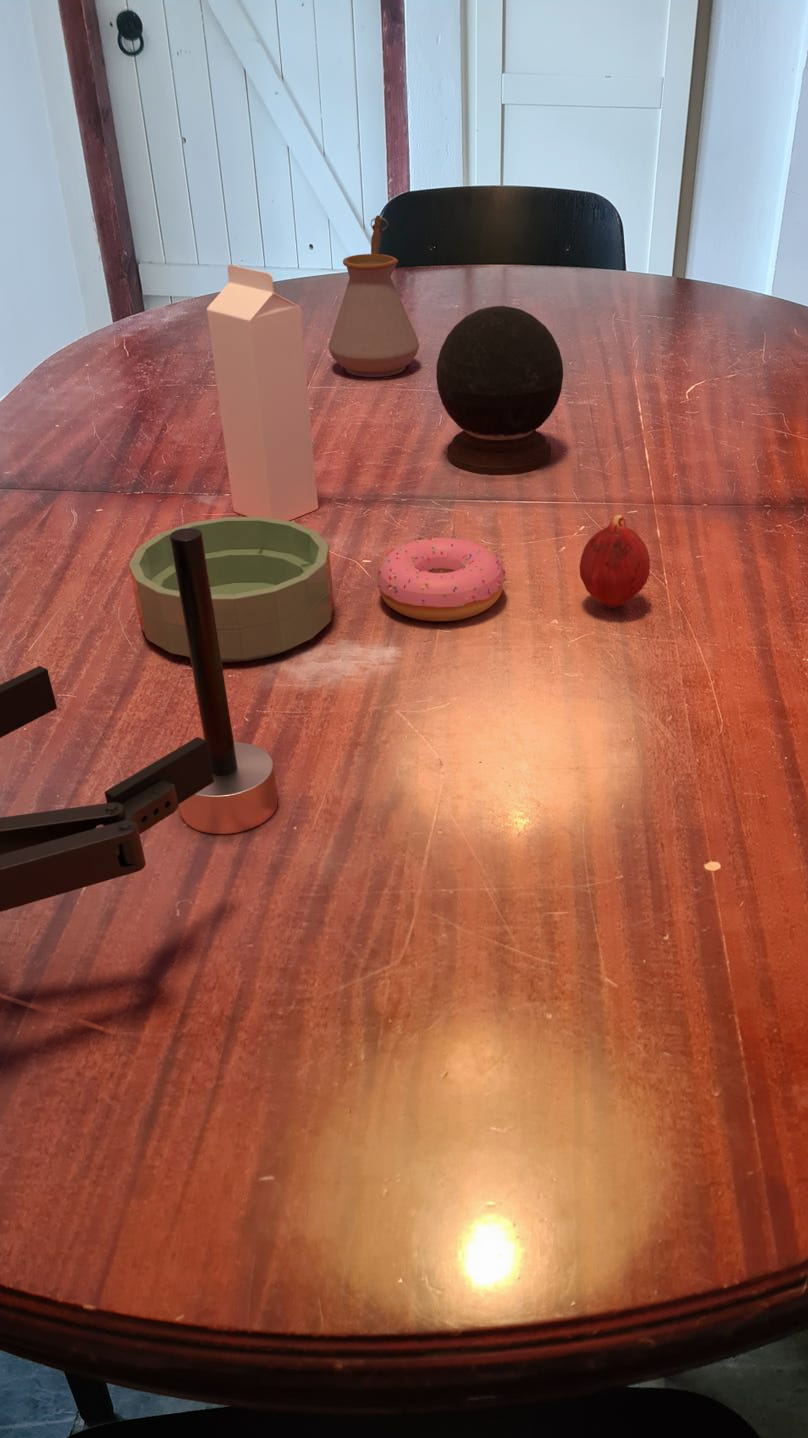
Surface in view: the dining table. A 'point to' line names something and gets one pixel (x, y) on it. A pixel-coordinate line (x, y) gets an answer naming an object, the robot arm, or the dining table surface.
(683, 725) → the dining table surface
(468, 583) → the doughnut
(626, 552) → the onion
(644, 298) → the dining table surface
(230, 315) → the milk
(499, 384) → the black ball on stand
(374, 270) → the coffee pot
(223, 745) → the paper towel holder
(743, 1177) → the dining table surface
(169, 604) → the bowl
